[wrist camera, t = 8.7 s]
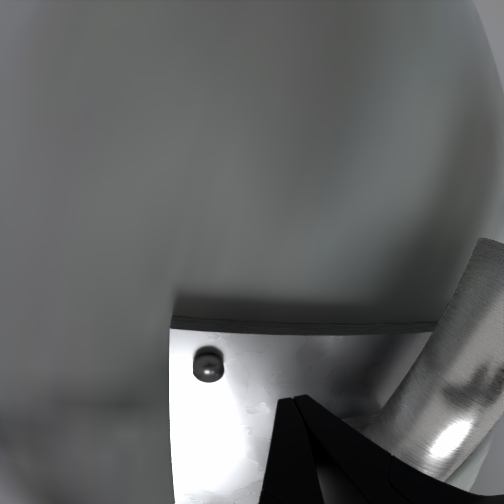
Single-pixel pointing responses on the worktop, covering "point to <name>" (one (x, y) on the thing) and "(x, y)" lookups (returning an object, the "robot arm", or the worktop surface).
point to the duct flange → (268, 391)
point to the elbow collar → (450, 377)
